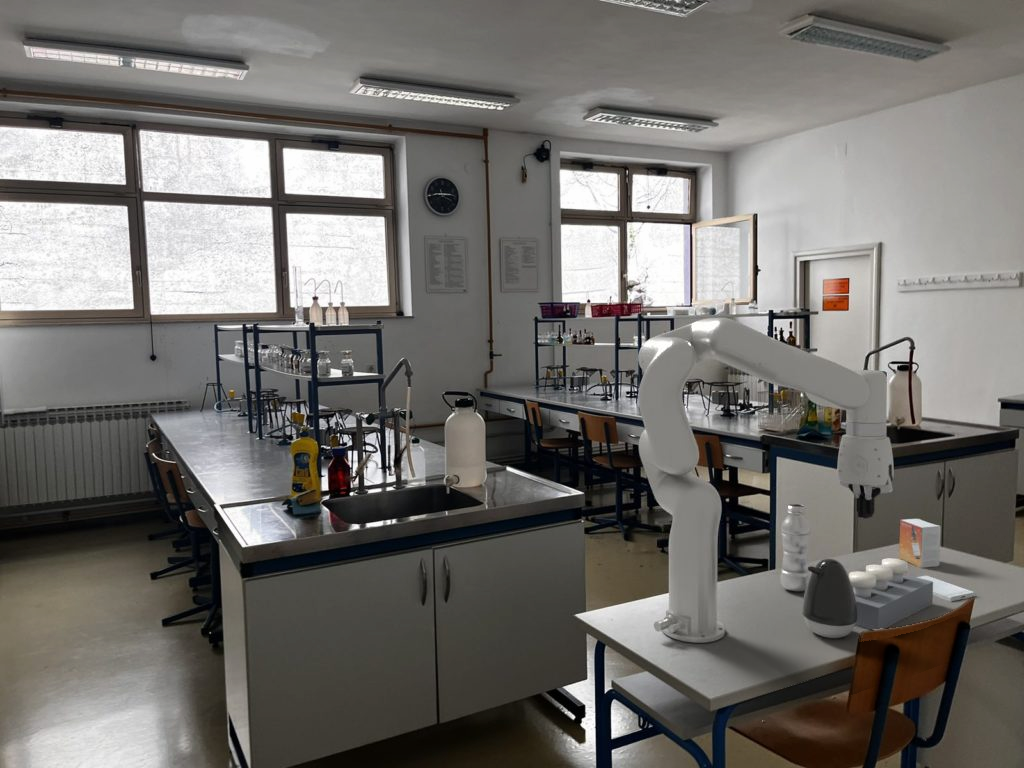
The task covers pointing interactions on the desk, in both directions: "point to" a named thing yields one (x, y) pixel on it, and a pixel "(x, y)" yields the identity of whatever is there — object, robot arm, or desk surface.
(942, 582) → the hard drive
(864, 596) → the knob near
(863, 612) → the housing
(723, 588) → the desk surface
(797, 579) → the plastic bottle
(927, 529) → the small box
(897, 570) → the knob far
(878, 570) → the knob mid
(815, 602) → the dark grey penguin figure
